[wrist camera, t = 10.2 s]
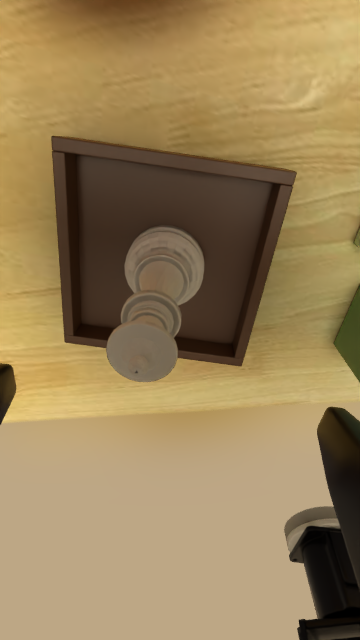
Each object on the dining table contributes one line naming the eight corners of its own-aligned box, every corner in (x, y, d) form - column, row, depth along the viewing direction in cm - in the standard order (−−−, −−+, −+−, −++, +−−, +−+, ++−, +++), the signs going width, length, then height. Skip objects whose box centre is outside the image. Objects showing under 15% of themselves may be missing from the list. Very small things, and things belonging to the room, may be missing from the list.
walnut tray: (237, 347, 21) (241, 367, 20) (75, 325, 21) (64, 342, 19) (285, 168, 16) (297, 171, 14) (67, 136, 16) (50, 135, 14)
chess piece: (135, 299, 19) (84, 426, 11) (122, 228, 17) (43, 313, 8) (206, 294, 19) (213, 422, 10) (201, 220, 17) (205, 301, 8)
